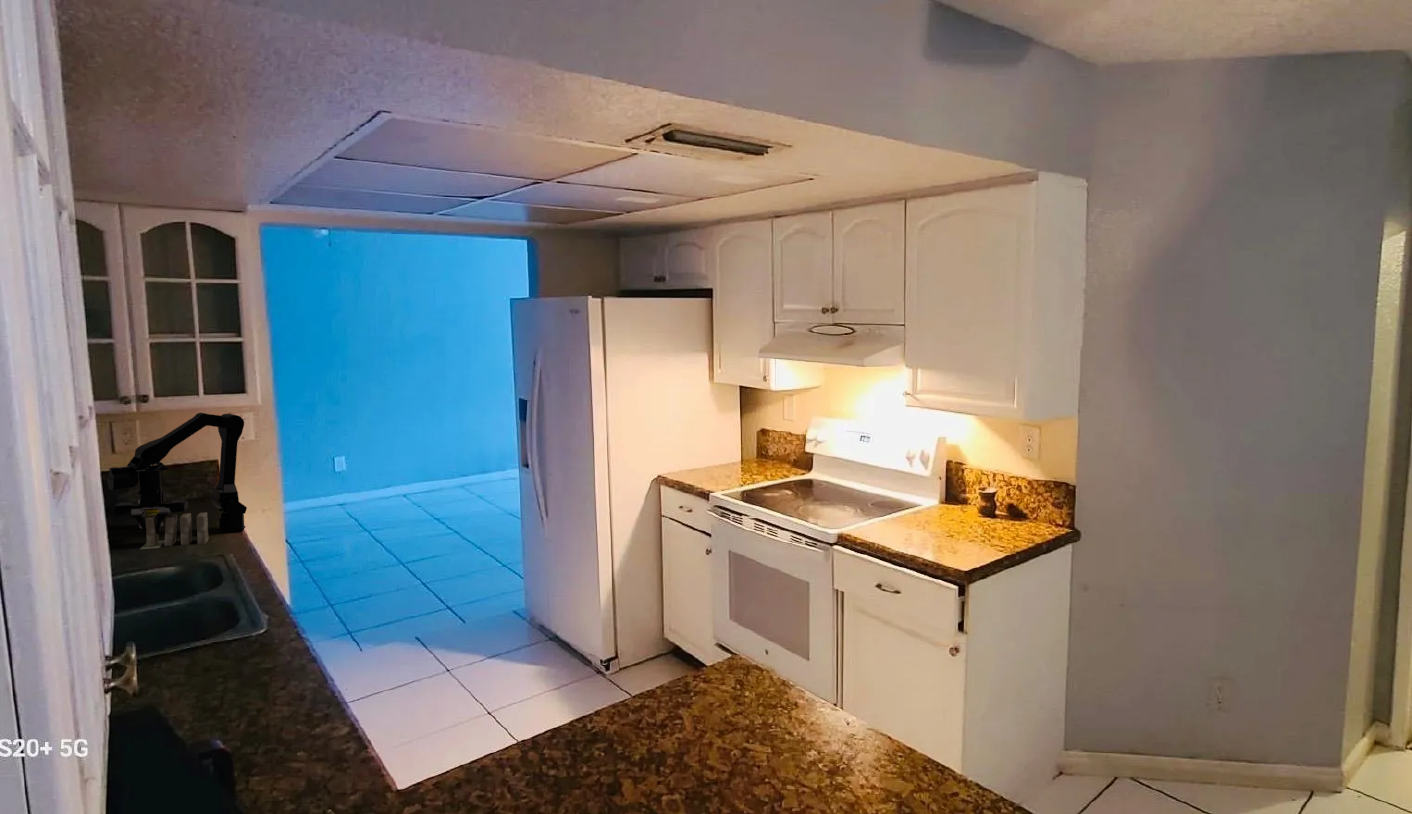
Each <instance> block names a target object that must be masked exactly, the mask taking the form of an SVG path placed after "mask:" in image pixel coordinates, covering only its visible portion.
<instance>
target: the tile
mask: <svg viewBox="0 0 1412 814" xmlns="http://www.w3.org/2000/svg"><path fill="white" fill-rule="evenodd" d="M159 534H160V533H159ZM159 534H157V532H156V515H150V516H148V517H147V518H146V534H145V535H146V543H147V547H155V546H156V545H157V544H158V543H159V541H160V538H159V537H160V535H159Z"/></svg>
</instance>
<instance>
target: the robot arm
mask: <svg viewBox="0 0 1412 814" xmlns="http://www.w3.org/2000/svg"><path fill="white" fill-rule="evenodd" d="M207 426H208V427H215V428H217V430H218V434H219V438H220V439H221V441H220V442H221V444H220V445H221V446H220V459H219V471H218V472H219V476H218V483H217V485H216V487H211V488H210V492H211V493H210V494H211V495H210V498H209V500H211V502H212V505H213V506H214V507H216V508H217V509H218V512H220V517H219V518H218V521H219V523H218V524H219V531H220V532H219V533H221V534H226V533H227V534H228V533H241V532H244V530H245V528H246V525H245V514H246V512H247V509H248V507H247V506H246V505H244V504H243V503H241V502H240V500H239V492H238V489H237V486H236V471H237V470H236V469H237V456H238V455H237V452H238V443H239V440H240V438H241V436H242V434H243V430H244V426H245V420H244V419H243V418H242V417H241V416H240V415H237V414H234V413H233V414H232V413H223V414H221V415H219V414H208V413H205V412H197V413H196V414H195V415H194V416H192V417H191V418H189V419H188V420H187V421H185V422H184V423H182V424H180V425H178V427H176V428H174V429H172V430H171V431H169V432H168V433H166V434H165V435H163V436H162V437H160V438H157V439H153V440H150V441H148V442H146V443H144V444H142V445H139V446H138V447H137V448H135V451H134V456H132V458H131V459H130V461H129V462H128V463H127V465H126V466H120V467H119V466H118V467H116V466H115V467H109V472H107V473H108V474H107V478H106V482H107V486H108V489H109V490H110V491H117V490H118V491H119V490H124V489H132V488H135V486H137V485H138V491H137V492H138V500H140V504H139V505H138V504H134V503H133V501H131V502H130V501H129V502H119V503H117V504H115V505H114V506H113V507H112V516H125V515H126V514H127V513H128V512H131V514H130V518H134V519H135V520H136V521H137V522H138V525H139V524H140V525H141V527H142V529H141V530H143V532H144V534H145V535H146V514H147V511H144V510H158V511H159V512H158V513H157V514H156V532H157V534H160V533H161V532H160V531H161V528H162V526H163V525H162V523H163V524H164V520H165V519H166V517H167V516H169V515H170V514H171V512H172V513H182V512H185V511H186V510H187V509H189V501H188V500H187V499H185V498H183V499H173V500H171V502H169V503H168V502H167V492H165V491H164V490H163V486H162V479H161V478H162V475H161V474H162V473H161V471H167V470H169V467H168V466H166V465H164V463H163V462H161V461H162V460H163V459H165V457H167V456H168V454H169V453H170V451H171V450H172V449H173V448H175V447H176V446H177V445H179V444H181V443H182V442H184V441H185V440H187V439H188V438H190V437H191V436H193V435H194V434H195V433H197V432H200V431H201V430H202V429H203V428H205V427H207ZM158 506H159V507H158ZM144 507H146V508H144Z"/></svg>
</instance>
